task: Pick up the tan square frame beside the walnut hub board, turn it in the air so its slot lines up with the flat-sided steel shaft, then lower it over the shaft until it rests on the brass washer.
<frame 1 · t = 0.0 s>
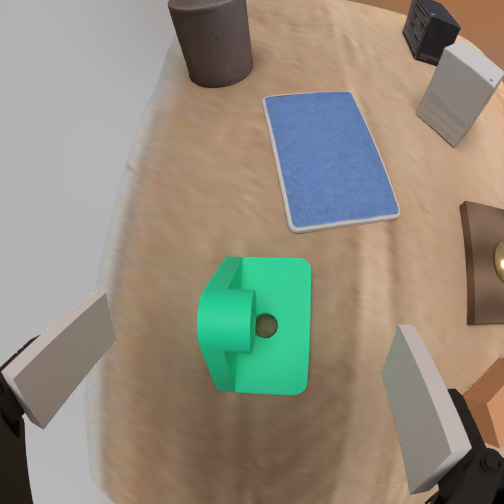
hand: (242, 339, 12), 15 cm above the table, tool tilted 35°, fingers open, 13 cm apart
camera mount: (266, 326, 27), on the table
supplement box: (443, 121, 32), on the table
pillar candle: (222, 69, 38), on the table
blue felt tray: (326, 153, 33), on the table
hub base: (499, 265, 26), on the table
small box: (422, 50, 38), on the table
tan square frame: (488, 399, 22), on the table
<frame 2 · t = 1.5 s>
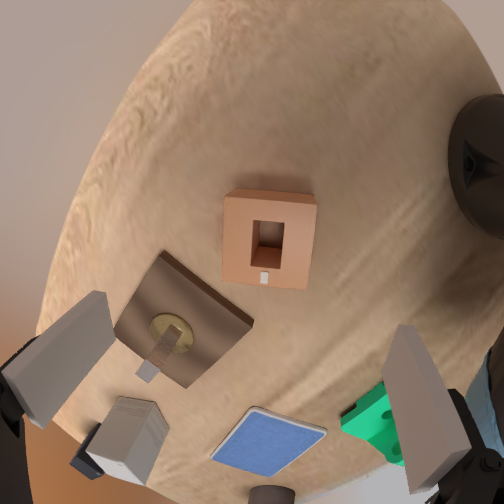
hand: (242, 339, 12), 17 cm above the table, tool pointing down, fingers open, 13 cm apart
camera mount: (385, 399, 34), on the table
supplement box: (145, 412, 41), on the table
pillar candle: (272, 492, 47), on the table
blue felt tray: (263, 443, 40), on the table
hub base: (177, 325, 33), on the table
small box: (105, 435, 48), on the table
tan square frame: (272, 228, 28), on the table
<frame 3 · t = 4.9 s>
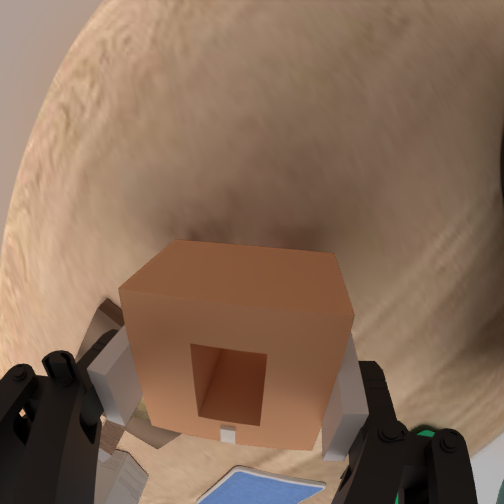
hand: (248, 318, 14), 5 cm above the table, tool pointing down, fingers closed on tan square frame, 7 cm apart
supplement box: (120, 459, 32), on the table
blue felt tray: (254, 493, 31), on the table
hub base: (137, 385, 24), on the table
tan square frame: (249, 315, 14), point 5 cm above the table, touching gripper
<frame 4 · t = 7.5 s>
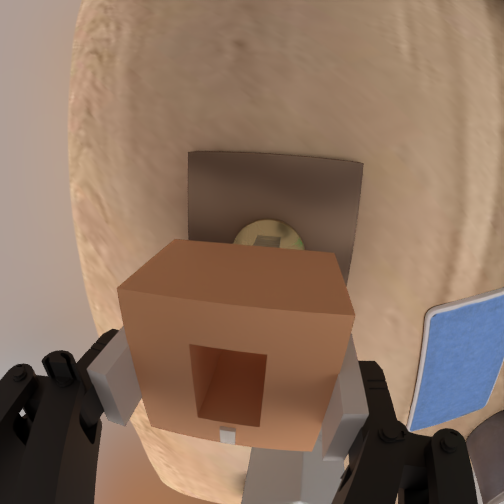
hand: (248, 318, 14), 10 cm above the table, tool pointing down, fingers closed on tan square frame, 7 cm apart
supplement box: (299, 421, 30), on the table
pillar candle: (489, 428, 28), on the table
blue felt tray: (461, 364, 25), on the table
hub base: (270, 246, 23), on the table
tan square frame: (248, 315, 14), point 10 cm above the table, touching gripper
when the fingers open (2 cm above the table, at t = 10.3 s): tan square frame stays where it is, resting on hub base.
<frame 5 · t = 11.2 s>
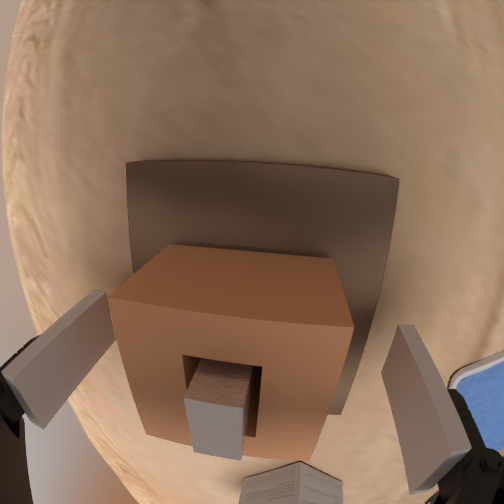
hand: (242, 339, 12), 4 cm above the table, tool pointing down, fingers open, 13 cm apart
supplement box: (293, 480, 22), on the table
blue felt tray: (482, 415, 18), on the table
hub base: (253, 300, 15), on the table
tan square frame: (245, 322, 13), point 2 cm above the table, touching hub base
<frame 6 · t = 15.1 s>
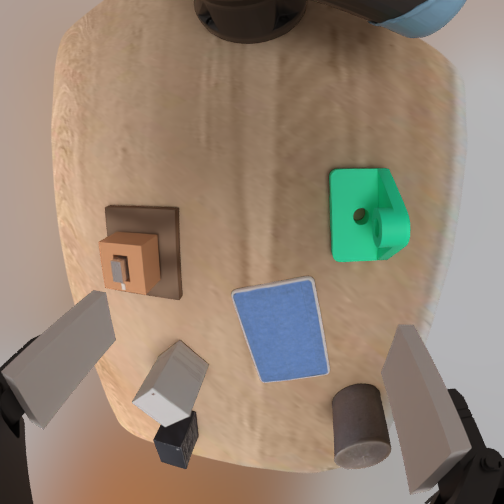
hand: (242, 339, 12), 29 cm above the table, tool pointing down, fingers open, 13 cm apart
camera mount: (357, 211, 38), on the table
supplement box: (183, 360, 51), on the table
pillar candle: (355, 399, 49), on the table
blue felt tray: (284, 333, 46), on the table
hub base: (144, 250, 44), on the table
small box: (184, 420, 58), on the table
tan square frame: (138, 255, 42), point 2 cm above the table, touching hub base
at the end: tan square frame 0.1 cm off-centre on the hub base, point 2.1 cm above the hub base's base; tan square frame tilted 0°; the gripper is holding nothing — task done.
